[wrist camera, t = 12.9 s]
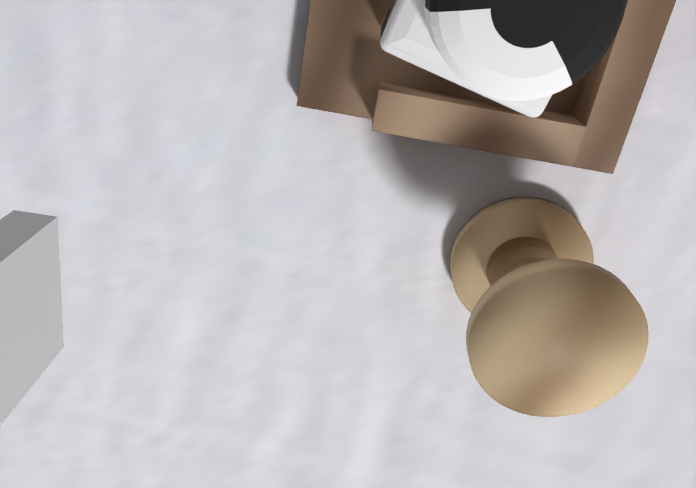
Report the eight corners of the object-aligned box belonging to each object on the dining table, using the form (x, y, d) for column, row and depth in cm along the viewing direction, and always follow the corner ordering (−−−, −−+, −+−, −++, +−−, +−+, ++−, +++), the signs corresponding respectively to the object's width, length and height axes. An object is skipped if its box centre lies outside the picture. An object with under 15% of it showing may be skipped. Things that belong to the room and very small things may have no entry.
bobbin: (436, 307, 38) (450, 401, 30) (468, 185, 35) (494, 254, 27) (563, 329, 38) (612, 429, 30) (607, 210, 35) (676, 286, 27)
